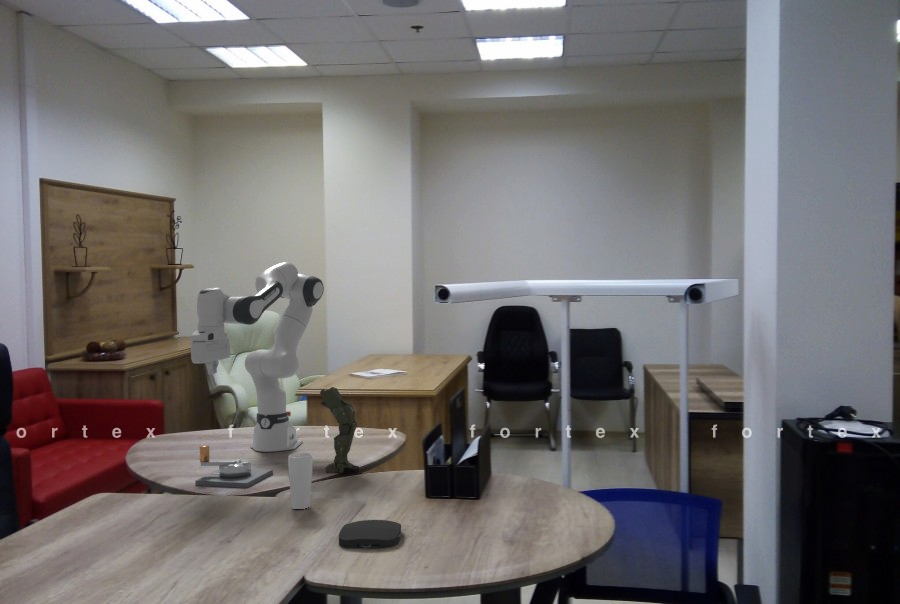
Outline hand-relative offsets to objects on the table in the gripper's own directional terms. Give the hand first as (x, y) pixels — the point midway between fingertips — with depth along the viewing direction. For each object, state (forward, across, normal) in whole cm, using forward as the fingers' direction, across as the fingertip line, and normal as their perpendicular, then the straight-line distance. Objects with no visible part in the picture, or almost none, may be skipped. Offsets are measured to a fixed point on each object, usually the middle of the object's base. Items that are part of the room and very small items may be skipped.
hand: (212, 373), depth 254 cm
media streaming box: (+34, +60, +77) cm, 103 cm away
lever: (+31, +13, +11) cm, 36 cm away
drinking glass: (+33, +39, +49) cm, 71 cm away
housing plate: (+33, +12, +14) cm, 38 cm away
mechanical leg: (+34, -4, +45) cm, 56 cm away
